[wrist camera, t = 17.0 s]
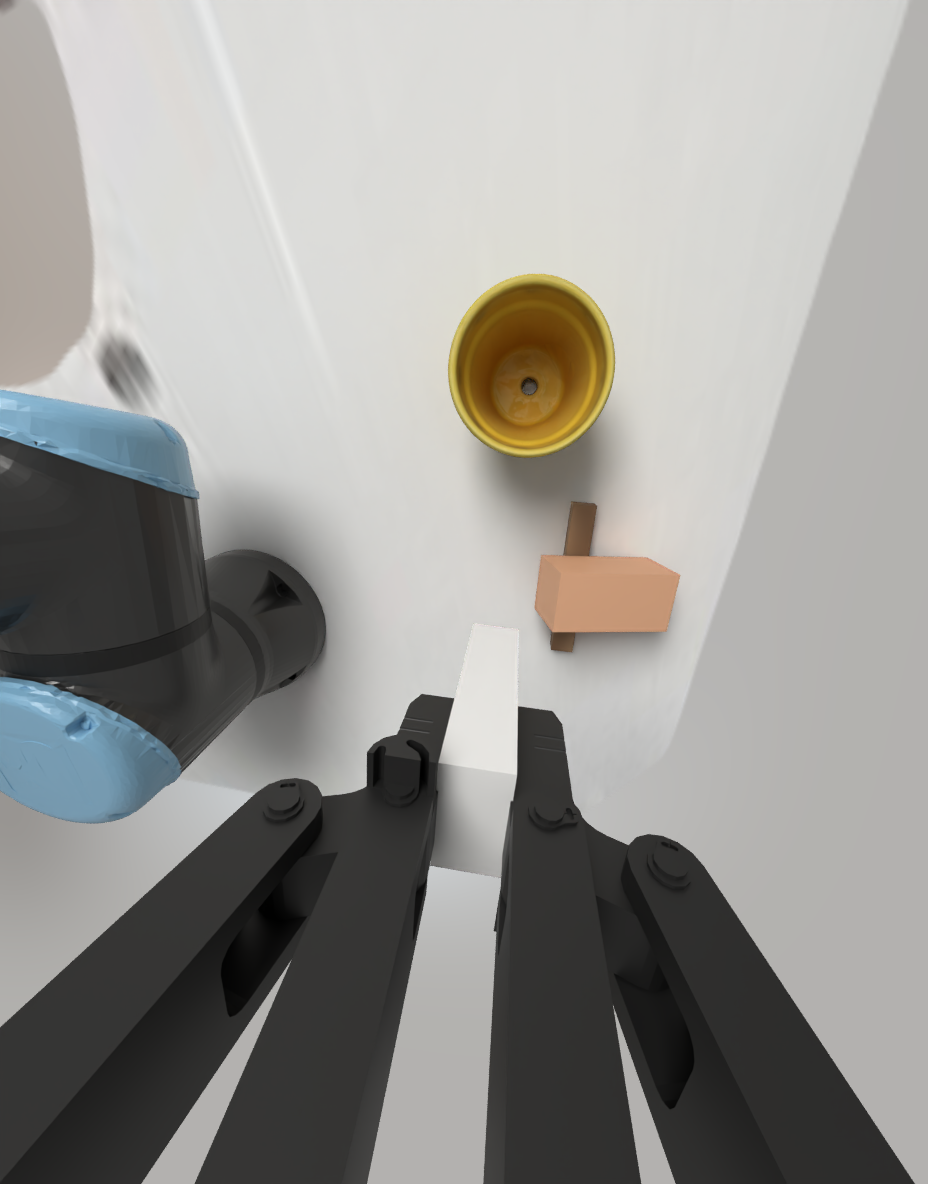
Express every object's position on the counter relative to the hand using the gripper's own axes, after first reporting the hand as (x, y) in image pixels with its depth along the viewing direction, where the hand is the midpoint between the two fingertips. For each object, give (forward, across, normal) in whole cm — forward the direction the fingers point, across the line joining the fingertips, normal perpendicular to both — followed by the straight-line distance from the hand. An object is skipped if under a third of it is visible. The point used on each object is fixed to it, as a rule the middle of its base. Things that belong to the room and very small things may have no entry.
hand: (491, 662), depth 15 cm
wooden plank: (+27, +6, -5) cm, 28 cm away
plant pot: (+27, 0, +11) cm, 29 cm away
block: (+22, +4, -5) cm, 23 cm away
